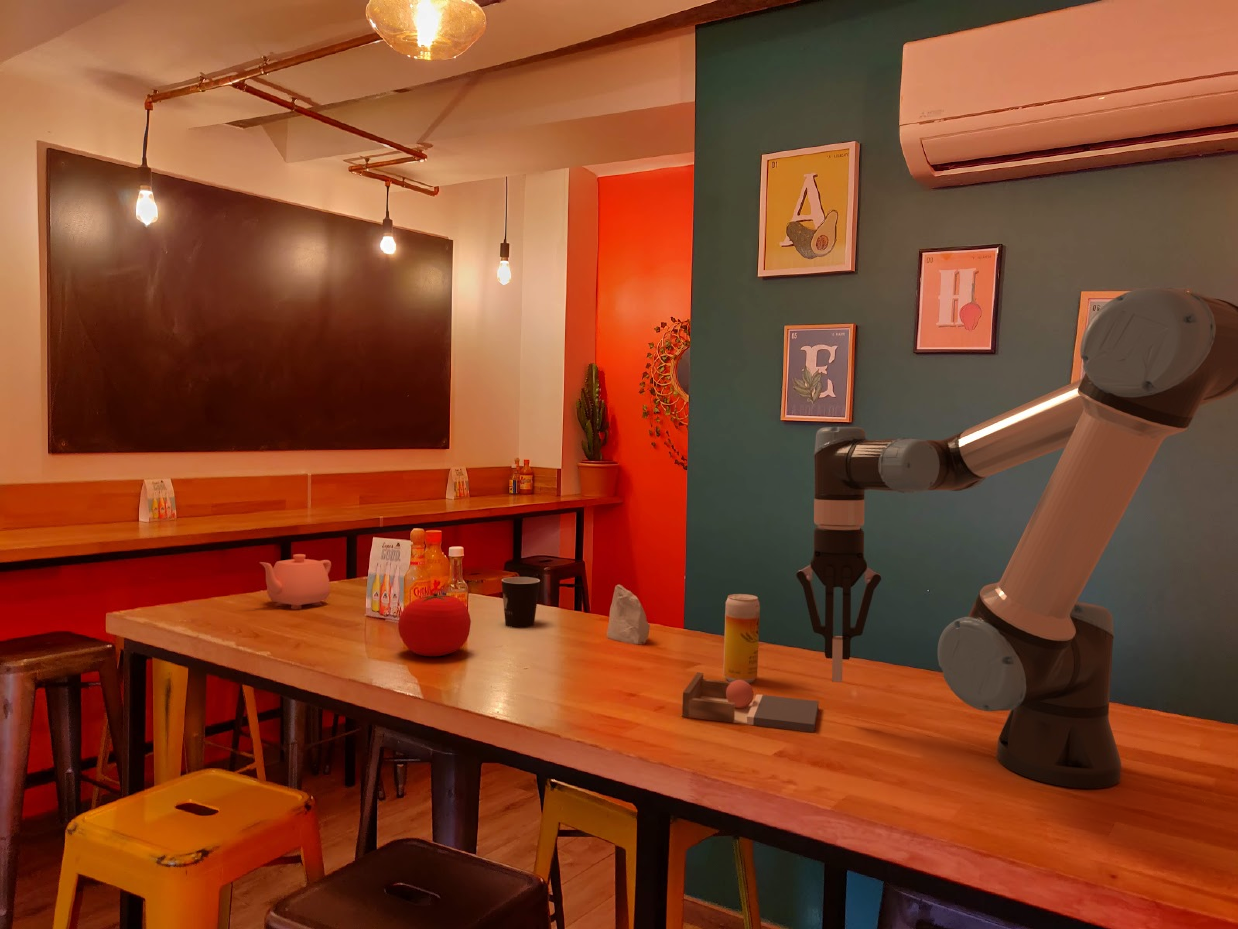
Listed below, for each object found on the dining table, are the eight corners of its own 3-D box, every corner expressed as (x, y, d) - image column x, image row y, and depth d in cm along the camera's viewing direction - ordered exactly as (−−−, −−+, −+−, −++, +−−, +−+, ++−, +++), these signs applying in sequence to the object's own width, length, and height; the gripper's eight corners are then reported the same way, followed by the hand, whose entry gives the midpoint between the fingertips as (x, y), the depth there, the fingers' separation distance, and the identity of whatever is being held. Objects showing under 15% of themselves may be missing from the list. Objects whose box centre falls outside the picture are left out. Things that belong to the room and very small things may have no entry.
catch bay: (744, 700, 145) (744, 677, 145) (733, 722, 134) (734, 698, 134) (696, 694, 147) (697, 672, 147) (682, 716, 136) (682, 692, 136)
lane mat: (818, 708, 142) (818, 701, 142) (813, 732, 130) (814, 724, 130) (696, 694, 147) (697, 687, 147) (682, 716, 136) (682, 709, 136)
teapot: (241, 608, 205) (242, 556, 204) (312, 595, 222) (313, 548, 221) (277, 616, 198) (278, 562, 197) (348, 602, 214) (348, 553, 214)
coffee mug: (536, 629, 192) (538, 584, 191) (497, 628, 192) (498, 583, 191) (542, 618, 203) (543, 575, 203) (505, 617, 203) (506, 574, 203)
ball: (720, 706, 141) (746, 716, 141) (724, 695, 138) (751, 706, 137) (728, 682, 144) (754, 692, 143) (732, 671, 140) (759, 681, 140)
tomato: (449, 665, 161) (450, 602, 160) (385, 657, 165) (386, 596, 165) (482, 649, 173) (483, 591, 173) (421, 642, 177) (423, 585, 177)
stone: (651, 643, 183) (653, 588, 182) (632, 646, 179) (635, 590, 179) (619, 633, 190) (621, 580, 190) (601, 636, 187) (603, 582, 187)
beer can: (756, 685, 154) (759, 601, 153) (721, 682, 155) (724, 598, 155) (757, 676, 160) (760, 594, 159) (724, 673, 161) (727, 592, 160)
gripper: (882, 526, 137) (880, 677, 137) (797, 524, 140) (795, 671, 140) (883, 530, 129) (882, 689, 130) (794, 527, 133) (792, 682, 133)
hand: (837, 679), depth 135 cm, fingers closed
